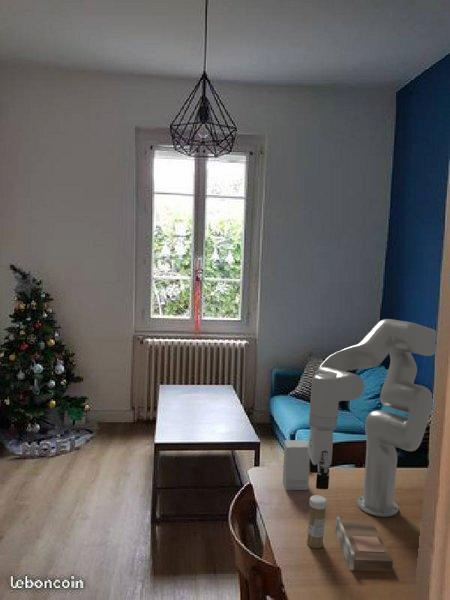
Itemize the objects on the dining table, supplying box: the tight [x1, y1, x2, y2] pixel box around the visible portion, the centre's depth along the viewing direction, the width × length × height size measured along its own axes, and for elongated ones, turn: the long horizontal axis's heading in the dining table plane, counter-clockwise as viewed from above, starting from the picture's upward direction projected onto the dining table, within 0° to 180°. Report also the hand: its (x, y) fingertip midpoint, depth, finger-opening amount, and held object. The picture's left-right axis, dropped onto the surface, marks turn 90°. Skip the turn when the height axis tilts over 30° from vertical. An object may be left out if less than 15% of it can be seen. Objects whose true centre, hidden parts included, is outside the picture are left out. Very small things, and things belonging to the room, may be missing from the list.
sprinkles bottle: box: [306, 494, 327, 549], centre depth 144 cm, size 5×5×13 cm
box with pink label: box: [334, 516, 394, 573], centre depth 142 cm, size 18×11×4 cm, turn 0°
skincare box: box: [282, 439, 311, 491], centre depth 177 cm, size 8×7×16 cm
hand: (318, 480), depth 142 cm, fingers open, 9 cm apart
